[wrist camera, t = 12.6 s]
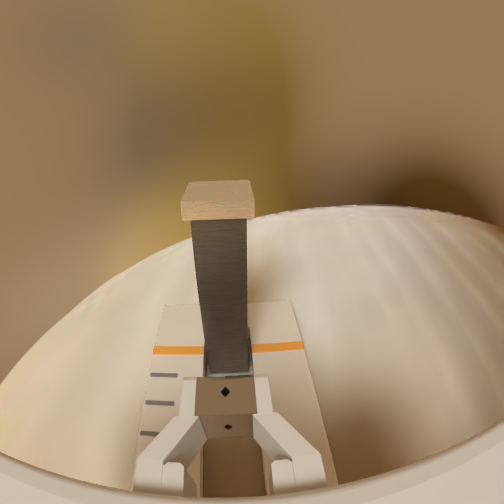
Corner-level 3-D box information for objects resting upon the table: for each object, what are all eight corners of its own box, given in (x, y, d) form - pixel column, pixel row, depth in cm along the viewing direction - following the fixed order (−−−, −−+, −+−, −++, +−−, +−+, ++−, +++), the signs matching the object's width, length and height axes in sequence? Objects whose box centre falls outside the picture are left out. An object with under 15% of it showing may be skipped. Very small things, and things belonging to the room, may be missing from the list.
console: (350, 567, 10) (358, 567, 9) (133, 574, 9) (124, 573, 8) (289, 311, 34) (290, 299, 33) (166, 315, 33) (164, 303, 32)
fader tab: (253, 375, 26) (254, 199, 18) (204, 377, 25) (180, 202, 18) (250, 341, 30) (249, 179, 22) (206, 342, 29) (189, 182, 21)
